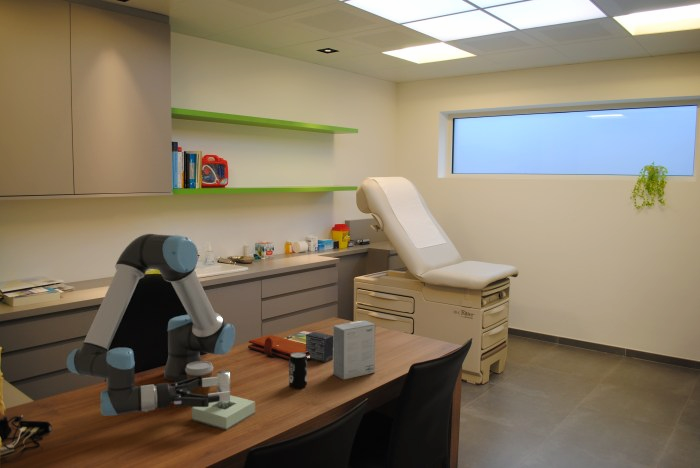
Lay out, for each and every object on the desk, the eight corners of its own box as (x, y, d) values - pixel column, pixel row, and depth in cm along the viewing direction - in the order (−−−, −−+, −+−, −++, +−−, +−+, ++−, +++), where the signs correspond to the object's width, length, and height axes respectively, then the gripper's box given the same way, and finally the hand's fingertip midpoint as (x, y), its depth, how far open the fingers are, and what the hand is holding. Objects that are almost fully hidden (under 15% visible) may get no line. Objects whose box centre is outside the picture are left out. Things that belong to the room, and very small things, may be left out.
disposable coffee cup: (188, 405, 185) (188, 371, 184) (183, 395, 194) (182, 362, 192) (216, 401, 190) (216, 367, 188) (210, 391, 198) (209, 359, 197)
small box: (333, 359, 236) (334, 335, 234) (325, 363, 230) (325, 338, 229) (314, 354, 241) (314, 331, 240) (305, 358, 236) (305, 334, 235)
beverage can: (304, 390, 201) (304, 358, 200) (286, 388, 202) (286, 356, 201) (308, 383, 207) (309, 352, 206) (292, 381, 208) (292, 351, 207)
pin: (214, 416, 177) (214, 373, 175) (223, 411, 180) (223, 370, 179) (224, 418, 175) (224, 375, 173) (232, 414, 178) (232, 372, 177)
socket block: (192, 420, 175) (192, 407, 174) (221, 404, 187) (221, 392, 187) (226, 430, 168) (226, 417, 168) (255, 413, 180) (255, 401, 180)
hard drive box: (364, 367, 226) (365, 319, 224) (375, 373, 219) (376, 324, 217) (332, 374, 217) (333, 324, 215) (342, 380, 211) (343, 329, 209)
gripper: (153, 393, 180) (219, 385, 188) (158, 425, 157) (233, 414, 166) (153, 371, 180) (219, 363, 188) (158, 400, 157) (233, 390, 165)
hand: (226, 387), depth 177 cm, fingers open, 13 cm apart
